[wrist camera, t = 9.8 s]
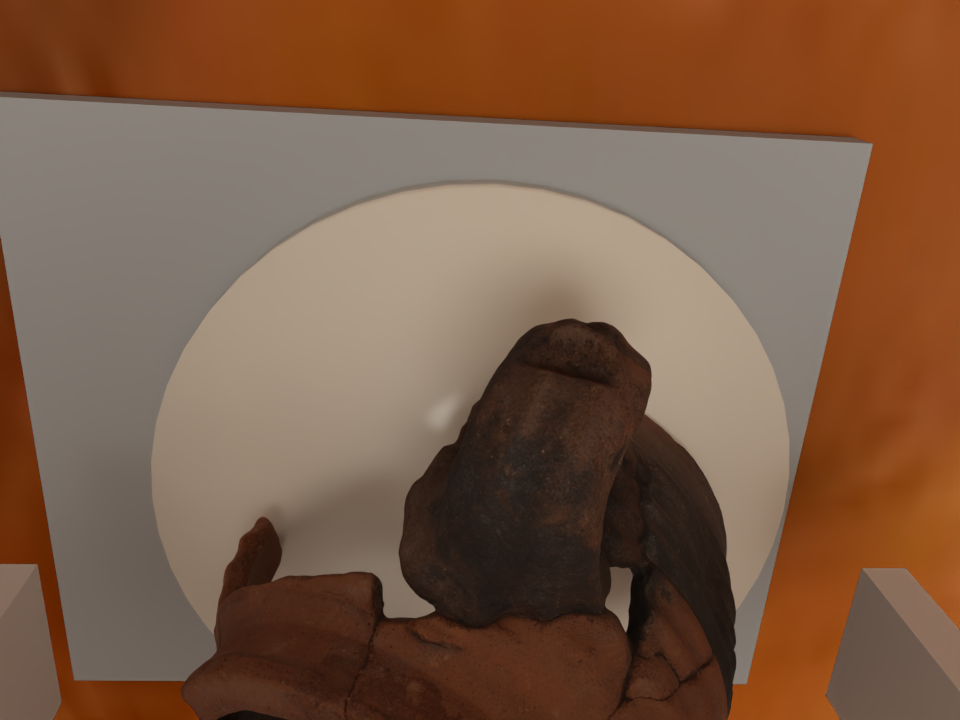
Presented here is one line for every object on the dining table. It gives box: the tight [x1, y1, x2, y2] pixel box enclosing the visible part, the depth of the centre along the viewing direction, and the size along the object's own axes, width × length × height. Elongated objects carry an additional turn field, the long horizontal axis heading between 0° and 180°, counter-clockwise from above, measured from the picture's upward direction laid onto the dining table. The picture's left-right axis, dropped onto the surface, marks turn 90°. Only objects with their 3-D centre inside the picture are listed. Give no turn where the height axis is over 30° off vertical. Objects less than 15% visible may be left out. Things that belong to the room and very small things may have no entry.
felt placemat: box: [0, 91, 873, 684], centre depth 18 cm, size 16×13×1 cm
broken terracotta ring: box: [181, 318, 736, 720], centre depth 15 cm, size 12×10×8 cm
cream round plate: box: [151, 179, 789, 634], centre depth 18 cm, size 13×13×1 cm
